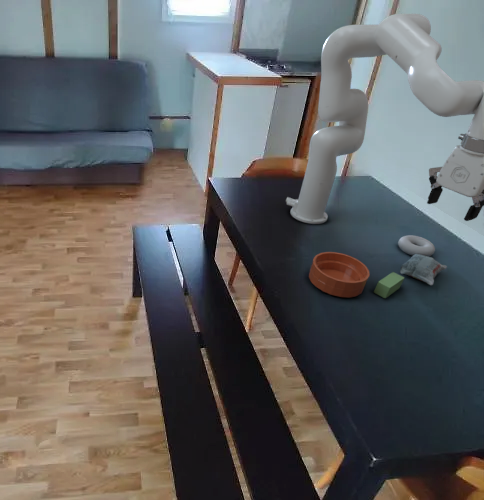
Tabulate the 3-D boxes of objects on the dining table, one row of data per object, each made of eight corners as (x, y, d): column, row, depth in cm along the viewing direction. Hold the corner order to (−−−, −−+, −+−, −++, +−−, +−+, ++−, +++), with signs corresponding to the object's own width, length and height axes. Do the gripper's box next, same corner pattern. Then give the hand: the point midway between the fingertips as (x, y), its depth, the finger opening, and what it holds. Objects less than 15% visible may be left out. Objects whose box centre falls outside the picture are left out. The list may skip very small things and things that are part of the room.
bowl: (300, 284, 112) (305, 267, 109) (318, 261, 121) (323, 246, 118) (354, 306, 104) (361, 289, 101) (368, 281, 114) (375, 265, 111)
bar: (385, 298, 108) (389, 288, 106) (373, 292, 110) (378, 281, 108) (399, 288, 112) (404, 277, 110) (388, 282, 114) (393, 271, 112)
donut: (402, 257, 125) (437, 261, 123) (406, 247, 123) (442, 251, 121) (392, 240, 133) (425, 244, 131) (396, 231, 131) (429, 235, 130)
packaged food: (443, 274, 118) (450, 260, 115) (428, 290, 111) (436, 276, 108) (410, 261, 123) (417, 247, 120) (395, 276, 116) (401, 262, 114)
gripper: (435, 135, 99) (408, 199, 108) (512, 159, 86) (474, 229, 95) (455, 132, 102) (427, 195, 111) (533, 155, 88) (494, 224, 98)
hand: (449, 211), depth 103 cm, fingers open, 9 cm apart
